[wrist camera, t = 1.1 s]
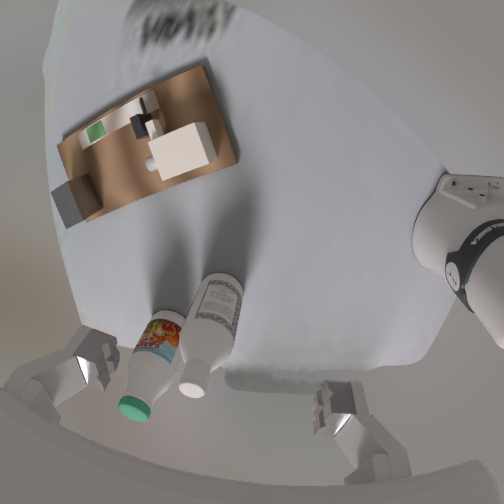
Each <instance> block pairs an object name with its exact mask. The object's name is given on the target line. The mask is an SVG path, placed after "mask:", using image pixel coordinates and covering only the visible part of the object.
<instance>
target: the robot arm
mask: <svg viewBox="0 0 504 504" xmlns="http://www.w3.org/2000/svg"><path fill="white" fill-rule="evenodd" d="M453 181H454V184H453V185H452V182H453ZM413 248H414V252H415V255H416V257H417V259H418V261H419V262H420V264H421V265H422V266H424V267H425V268H426V269H428V270H430V271H432V272H434V273H435V274H437V275H438V276H439V277H441V278H442V279H443V280H444V281H445V282H446V283H448V284H449V285H450V286H451V288H452V290H453V291H454V293H455V294H456V295H457V297H459V299H460V300H461V302H462V303H463V304H464V305H465V306H466V307H467V309H468V310H469V311H471V312H472V313H475V314H476V315H477V317H478V318H479V319H480V321H481V322H482V324H483V325H484V326H485V328H486V329H487V331H488V332H489V333H490V335H491V336H492V338H493V339H494V340H495V342H496V343H497V345H498V346H500V347H501V348H503V349H504V178H502V177H492V176H477V175H457V174H445V175H443V176H442V177H441V179H440V180H439V183H438V185H437V188H436V191H435V193H434V194H433V196H432V197H431V198H430V199H429V200H428V201H427V202H426V204H425V205H424V206H423V208H422V210H421V211H420V213H419V215H418V217H417V220H416V223H415V226H414V231H413ZM116 345H117V339H116V337H114V336H112V335H109V334H106V333H104V332H101V331H98V330H96V329H93V328H90V327H87V326H85V325H83V326H81V327H80V328H79V329H78V330H77V332H76V333H75V334H74V336H73V337H72V338H71V340H70V341H69V342H68V344H67V345H66V346H65V348H64V349H63V350H60V349H59V350H57V351H55V352H53V353H50V354H48V355H45V356H43V357H41V358H38V359H36V360H33V361H31V362H29V363H26V364H24V365H22V366H19V367H17V368H16V369H15V370H14V372H13V373H12V374H11V376H10V377H9V379H8V380H7V382H6V383H5V384H4V386H3V387H2V388H1V387H0V504H503V501H502V496H501V490H500V486H499V482H498V479H497V477H496V475H495V474H494V473H493V472H492V471H491V470H490V469H489V468H488V467H487V466H485V465H484V464H483V463H481V462H480V461H479V460H470V461H467V462H464V463H461V464H458V465H454V466H452V467H448V468H444V469H440V470H436V471H432V472H428V473H424V474H420V475H415V476H412V473H411V468H410V463H409V459H408V454H407V450H406V449H405V448H404V447H403V446H402V445H401V444H400V443H399V442H398V441H397V440H396V439H395V438H394V437H393V436H392V435H391V434H390V433H389V432H388V430H386V428H385V427H384V426H383V425H382V424H381V423H380V422H379V421H378V420H377V419H376V418H375V417H374V416H373V415H369V411H368V406H367V402H366V398H365V393H364V389H363V385H362V383H361V382H351V381H349V382H348V381H337V380H325V381H323V382H322V384H321V390H319V391H317V393H316V395H315V397H314V400H313V406H312V409H313V414H314V415H315V417H316V419H315V420H314V422H313V428H314V436H322V437H334V439H335V440H336V442H337V444H338V445H339V446H340V448H341V450H342V451H343V453H344V454H345V456H346V457H347V458H348V460H349V461H350V463H351V464H352V466H353V467H354V468H355V470H354V471H353V472H352V473H351V474H349V475H348V476H347V477H345V478H344V482H345V485H334V486H290V485H289V486H288V485H271V484H260V483H251V482H242V481H235V480H228V479H222V478H216V477H211V476H206V475H200V474H196V473H191V472H187V471H183V470H179V469H175V468H171V467H167V466H164V465H160V464H157V463H153V462H150V461H147V460H144V459H141V458H138V457H135V456H132V455H129V454H126V453H124V452H121V451H118V450H115V449H113V448H110V447H108V446H105V445H103V444H101V443H98V442H96V441H94V440H91V439H89V438H87V437H85V436H83V435H80V434H78V433H76V432H74V431H72V430H70V429H68V428H66V427H64V426H62V425H60V424H59V422H60V420H61V416H60V414H59V412H58V411H57V409H56V407H55V406H57V405H58V404H60V403H61V402H63V401H64V400H66V399H68V398H69V397H71V396H72V395H74V394H75V393H77V392H79V391H80V390H81V389H83V388H85V387H86V386H87V385H88V386H90V387H93V388H95V389H98V390H101V391H104V392H105V390H106V388H107V386H108V384H109V382H110V380H111V379H110V374H112V373H114V372H115V371H116V369H117V367H118V364H119V360H120V359H119V357H120V354H119V350H118V349H117V348H116V347H115V346H116Z"/></svg>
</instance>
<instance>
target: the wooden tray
mask: <svg viewBox="0 0 504 504" xmlns="http://www.w3.org/2000/svg"><path fill="white" fill-rule="evenodd" d="M140 100H142V103H143V106H144V109H145V112H146V114H151V116H152V119H153V120H155V119H158V120H159V122H160V125H161V128H162V131H163V133H164V135H165V134H168V133H170V132H172V131H175V130H177V129H179V128H182V127H184V126H187V125H189V124H192V123H194V122H205V123H206V126H207V129H208V132H209V134H210V137H211V140H212V143H213V146H214V148H215V151H216V154H217V157H218V158H217V159H216V160H214V161H213V162H211V163H209V164H207V165H204V166H201V167H198V168H196V169H193V170H190V171H188V172H185V173H182V174H180V175H177V176H174V177H172V178H169V179H167V180H164V181H162V179H161V176H160V173H159V171H158V169H157V170H155V171H152V172H151V171H149V170H148V168H147V166H146V163H145V159H146V158H147V157H149V156H151V155H152V152H151V150H150V147H149V144H148V142H150V141H151V138H150V137H149V138H143V139H138V140H137V138H136V136H135V133H134V130H133V127H132V124H131V121H130V119H129V118H131V117H132V116H134V115H136V114H143V111H142V109H141V106H140V103H139V101H140ZM57 148H58V151H59V154H60V157H61V160H62V162H63V165H64V168H65V171H66V173H67V176H68V179H69V181H70V180H72V179H75V178H77V177H80V176H82V175H85V174H87V173H89V174H90V177H91V179H92V182H93V184H94V187H95V189H96V192H97V194H98V197H99V199H100V201H101V204H102V206H103V209H101V210H99V211H98V212H96V213H94V214H93V215H91V216H90V217H88V218H87V219H85V220H86V222H89V221H91V220H93V219H96V218H98V217H100V216H102V215H104V214H107V213H109V212H111V211H113V210H116V209H118V208H120V207H123V206H125V205H127V204H130V203H132V202H134V201H137V200H139V199H142V198H144V197H147V196H149V195H152V194H154V193H157V192H159V191H162V190H164V189H167V188H169V187H172V186H175V185H177V184H180V183H183V182H185V181H188V180H191V179H194V178H197V177H199V176H202V175H205V174H208V173H211V172H214V171H217V170H220V169H223V168H226V167H229V166H232V165H235V164H237V163H238V160H237V157H236V155H235V152H234V149H233V146H232V143H231V140H230V137H229V134H228V132H227V129H226V126H225V123H224V120H223V117H222V115H221V112H220V109H219V106H218V103H217V100H216V98H215V95H214V92H213V89H212V86H211V84H210V81H209V78H208V75H207V73H206V70H205V67H204V66H202V65H201V66H198V67H196V68H193V69H191V70H189V71H186V72H184V73H181V74H179V75H177V76H175V77H172V78H170V79H168V80H166V81H164V82H162V83H160V84H157V85H155V86H153V87H151V88H149V89H147V90H145V91H143V92H141V93H139V94H138V95H136V96H134V97H132V98H130V99H128V100H126V101H125V102H123V103H121V104H119V105H118V106H116V107H114V108H112V109H111V110H109V111H107V112H106V113H104V114H102V115H101V116H99V117H98V118H96V119H94V120H93V121H91V122H90V123H88V124H87V125H85V126H84V127H82V128H81V129H79V130H78V131H76V132H75V133H73V134H72V135H70V136H69V137H68V138H66V139H65V140H63V141H62V142H61V143H59V144H58V145H57Z"/></svg>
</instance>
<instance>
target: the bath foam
mask: <svg viewBox="0 0 504 504" xmlns="http://www.w3.org/2000/svg"><path fill="white" fill-rule="evenodd" d="M242 299H243V289H242V287H241V285H240V283H239V282H238V281H237V280H236V279H235V278H234V277H232V276H230V275H228V274H225V273H214V274H211V275H209V276H207V277H206V278H205V279H204V280H203V281H202V283H201V285H200V287H199V289H198V291H197V294H196V296H195V298H194V300H193V303H192V305H191V307H190V310H189V312H188V314H187V317H186V319H185V321H184V324H183V326H182V329H181V332H180V337H179V348H180V352H181V355H182V357H183V360H184V361H185V364H186V366H185V368H184V372H183V374H182V377H181V380H180V383H179V389H180V391H181V392H182V393H183V394H185V395H186V396H189V397H192V398H199V397H202V396H203V395H204V394H205V391H206V387H207V383H208V379H209V375H210V372H211V371H213V370H215V369H216V368H218V367H219V366H221V365H222V364H223V363H224V362H225V361H226V360H227V358H228V357H229V355H230V353H231V351H232V348H233V346H234V341H235V336H236V330H237V325H238V320H239V315H240V310H241V305H242Z"/></svg>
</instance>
